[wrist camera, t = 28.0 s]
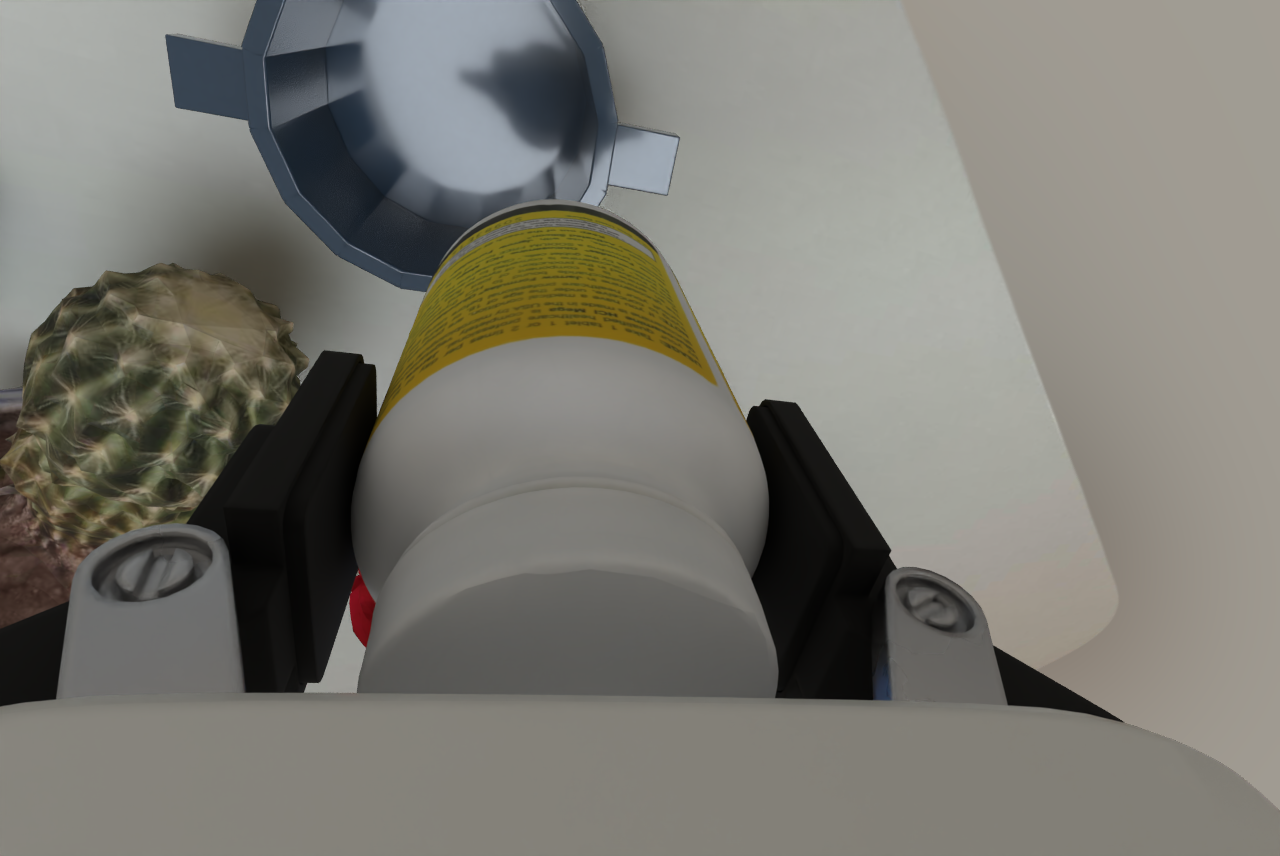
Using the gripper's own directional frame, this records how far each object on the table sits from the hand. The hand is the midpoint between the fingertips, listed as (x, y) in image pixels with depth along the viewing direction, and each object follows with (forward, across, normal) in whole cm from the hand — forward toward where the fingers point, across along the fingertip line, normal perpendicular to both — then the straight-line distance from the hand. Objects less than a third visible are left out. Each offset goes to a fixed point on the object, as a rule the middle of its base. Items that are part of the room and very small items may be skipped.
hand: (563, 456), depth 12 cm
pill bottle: (+6, 0, 0) cm, 6 cm away
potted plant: (+28, +19, +18) cm, 38 cm away
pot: (+28, +5, -2) cm, 28 cm away
